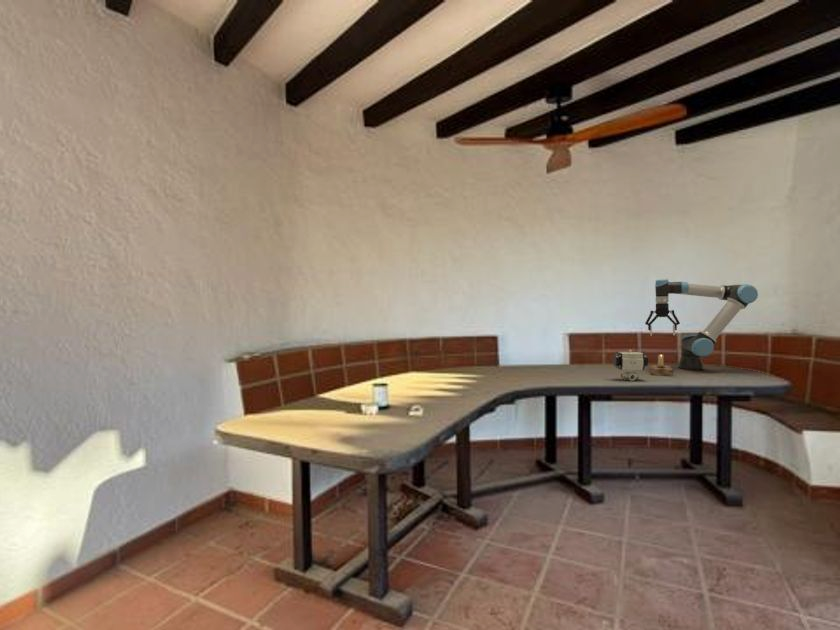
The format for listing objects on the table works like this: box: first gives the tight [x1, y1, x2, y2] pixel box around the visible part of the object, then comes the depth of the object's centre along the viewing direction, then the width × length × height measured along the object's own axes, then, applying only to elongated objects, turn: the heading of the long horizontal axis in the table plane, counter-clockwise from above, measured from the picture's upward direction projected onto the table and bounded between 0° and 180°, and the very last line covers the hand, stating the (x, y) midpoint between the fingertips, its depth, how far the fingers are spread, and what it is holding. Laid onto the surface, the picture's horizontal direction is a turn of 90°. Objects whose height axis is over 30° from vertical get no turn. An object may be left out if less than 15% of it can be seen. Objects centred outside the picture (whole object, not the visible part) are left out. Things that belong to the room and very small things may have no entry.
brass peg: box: [657, 354, 665, 368], centre depth 303 cm, size 3×3×12 cm
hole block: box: [648, 364, 674, 377], centre depth 304 cm, size 12×16×4 cm
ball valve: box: [612, 349, 649, 382], centre depth 281 cm, size 18×8×18 cm, turn 86°
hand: (662, 335), depth 314 cm, fingers open, 13 cm apart
